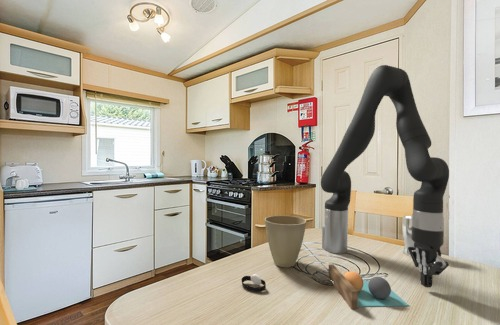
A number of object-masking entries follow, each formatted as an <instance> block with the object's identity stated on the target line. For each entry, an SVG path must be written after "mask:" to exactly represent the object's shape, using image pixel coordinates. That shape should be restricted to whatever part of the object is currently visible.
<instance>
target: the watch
mask: <svg viewBox="0 0 500 325" xmlns="http://www.w3.org/2000/svg"><path fill="white" fill-rule="evenodd" d="M246 281H249V282H252V283H253V284H254V285H256V286H257V287H256V286H253V285H252V286H251V285H248V284H245V283H244V282H246ZM241 285H242V287H243V288H244V289H245V290H248V291H250V292H254V293H262V292H264V291H265V290H266V287H267V286H266V285H267V284H266V281H265V280H264V279H262V278H261V277H260V276H259V275H258V274H253V275H244V276H242V277H241ZM260 285H262V286H260ZM258 286H259V287H258Z"/></svg>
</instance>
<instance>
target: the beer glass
mask: <svg viewBox="0 0 500 325" xmlns="http://www.w3.org/2000/svg"><path fill="white" fill-rule="evenodd" d="M401 228H402V229H401V230H402V235H403V241H404V244H403V245H404V247H403V251H402V253H403V255H405V256H407V257H411V255H410V252H409V250H408V247H413V246H414V241H413V240H412V215H403V218H402V227H401Z"/></svg>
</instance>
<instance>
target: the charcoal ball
mask: <svg viewBox="0 0 500 325" xmlns="http://www.w3.org/2000/svg"><path fill="white" fill-rule="evenodd" d="M370 279H371V280H370V281H369V284H368V288H369V291H370V293H371V294H372V295H373V296H374V297H376V298H378V299H386V298H387V297H389V295H390V293H391V290H392V288H391V284H390V283H389V281H388V280H386V279H385V278H383V277H382V276H374V277H372V278H370Z"/></svg>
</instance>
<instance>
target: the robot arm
mask: <svg viewBox="0 0 500 325" xmlns="http://www.w3.org/2000/svg"><path fill="white" fill-rule="evenodd" d="M384 97H388V98H389V99H390V101H391V102H392V104H393V106H394V108H395V112H396V118H395V119H396V120H395V121H396V122H395V125H396V126H395V127H396V131H397V134H398V137H399V139H400V142H401V144H402V147H403V148H404V149H403V150H404V156H405V164H406V169H407V171H408V174H409V175H410V176H411V178H412V179H414V180H415V181H417V182H421V185H420V187H419V189H417V190H415V191H414V192H413V201H412V202H413V203H412V206H413V207H412V214H411V216H412V240H413V241H414V246H413V247H408V250H409V252H410V255H411V256H410V258H411V259H412V262H413V264H414V267H415V268H418V271H419V272H420V273H419V274H420V276H419V277H420V279H419V280H420V285H421V286H423V287H424V288H432V287H433V276H440V274H442V273H443V272H444V271H445V270H446V269H447V268H448V267H449V266H450V265H449V261H445V260H444V259H443V258H442V252H441V248H442V246H444V239H445V238H444V234H445V233H444V230H445V218H444V195H445V193H446V190H447V186H448V182H449V178H450V169H449V166H448V164H447V162H446V161H445V160H444V159H443V158H440V157H434V156H433V157H432V156H431V155H430V152H429V149H430V147H431V146H432V139H431V137H430V136H429V133H428V131H427V129H426V126H425V125H424V123H423V121H422V118H421V116H420V113H419V111H418V106H417V104H416V101H415V98H414V97H415V96H414V93H413V90H412V85H411V81H410V76H409V75H408V73H407V72H406V71H405V70H404V69H402V68H400V67H399V68H398V67H397V66H392V65H387V64H382V65H380V66H378V67H376V68H375V69H374V70H373V71H372V72H371V74H370V76H369V78H368V81H367V82H366V84H365V87H364V90H363V93H362V96H361V98H360V101H359V103H358V106H357V108H356V111H355V113H354V114H353V117H352V119H351V121H350V123H349V125H348V127H347V128H346V131H345V132H344V135H343V137H342V138H341V139H342V140H341V142H340V143H339V146H338V148H337V150H336V152H335V154H334V156H333V157H332V159H331V160H330V163H329V164H328V165H327V167H326V168H325V170H324V171H323V173H322V175H321V179H320V186H321V187H320V188H321V190H322V191H323V192H324V193H327V194H332V195H331V197H330V198H329V199H327V200H325V202H324V225H322V226H321V228H322V229H321V230H322V232H321V235H322V236H321V238H322V239H321V248H322V249H324V250H325V251H327V252H329V253H333V254H345V253H347V252H348V238H349V237H348V233H349V232H348V231H349V230H348V228H349V224H348V223H349V205H350V203H351V195H352V178H351V176H350V174H349V173H348V172H347V171H346V169H347V168H348V166H349V165H350V164H352V163H353V162H354V161H355V160H356V159H358V158H359V157H360V156H361V155H362V154H363V153H364V152H365V151H366V150H367V148H368V146H369V144H370V143H371V141H372V140H373V138H374V135H375V130H376V113H377V110H378V108H379V106H380V104H381V102H382V100H383V98H384Z"/></svg>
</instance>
